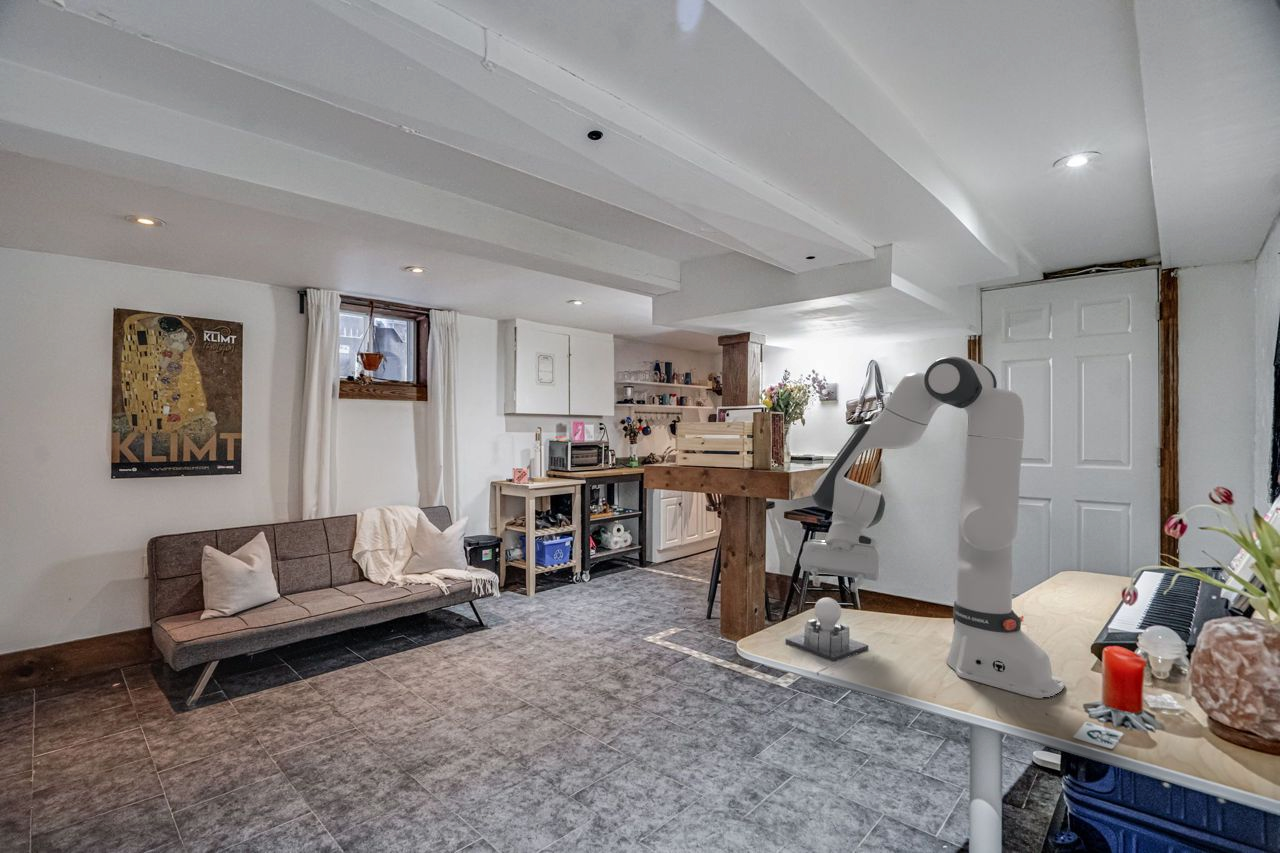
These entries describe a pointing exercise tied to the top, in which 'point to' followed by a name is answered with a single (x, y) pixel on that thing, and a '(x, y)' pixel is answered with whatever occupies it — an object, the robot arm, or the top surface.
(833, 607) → the lightbulb
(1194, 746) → the top surface
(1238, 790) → the top surface
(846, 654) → the lamp socket
